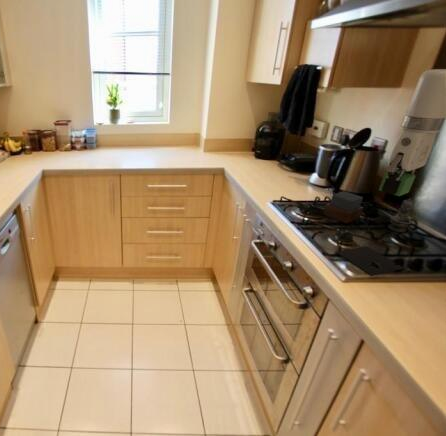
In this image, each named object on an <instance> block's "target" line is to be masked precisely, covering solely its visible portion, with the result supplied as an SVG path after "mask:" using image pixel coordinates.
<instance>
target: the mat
mask: <svg viewBox="0 0 446 436" xmlns="http://www.w3.org/2000/svg"><path fill="white" fill-rule="evenodd" d="M335 254H337V255H338V256H340V257H341V258H343V259H344V260H346V261H347V262H349V263H350V264H352V265H354V266H355V267H357V268H358V269H359V270H360V271H363V272H364V273H365V274H367V275H368V276H370V277H372V276H377V275H381V274H388V273H393V272H396V271H397V272H398V271H401V270H405V267H404V266H402V265H400V264H398V263H397V262H395V261H393V260H392V259H390V258H388V257H386V256H385V255H383V254H381V253H379V252H378V251H377V250H374V249H373V248H372V247H369V246H362V247H357V248H351V249H345V250H341V251H336V253H335ZM371 261H374V262H376V263H378V264H379V265H380V266H381V268H376V267H374V266H371V264H370V262H371ZM395 263H396V264H398V265H396V264H395ZM394 264H395V265H394Z"/></svg>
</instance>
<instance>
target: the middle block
mask: <svg viewBox="0 0 446 436" xmlns="http://www.w3.org/2000/svg"><path fill="white" fill-rule="evenodd" d="M363 199H364V197H363V196H362V195H358V194H354V193H351V192H348V191H345V190H343V191H340V192H337V193H334V194H332V196H331V200H330V202H331V203H330V202H329V203H330V204H331V205H333V206H336V207H339V208H342V209H344V210H347V211H351V210H353V209H356V208H358V207H360V206H361V204H362V202H363Z"/></svg>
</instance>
